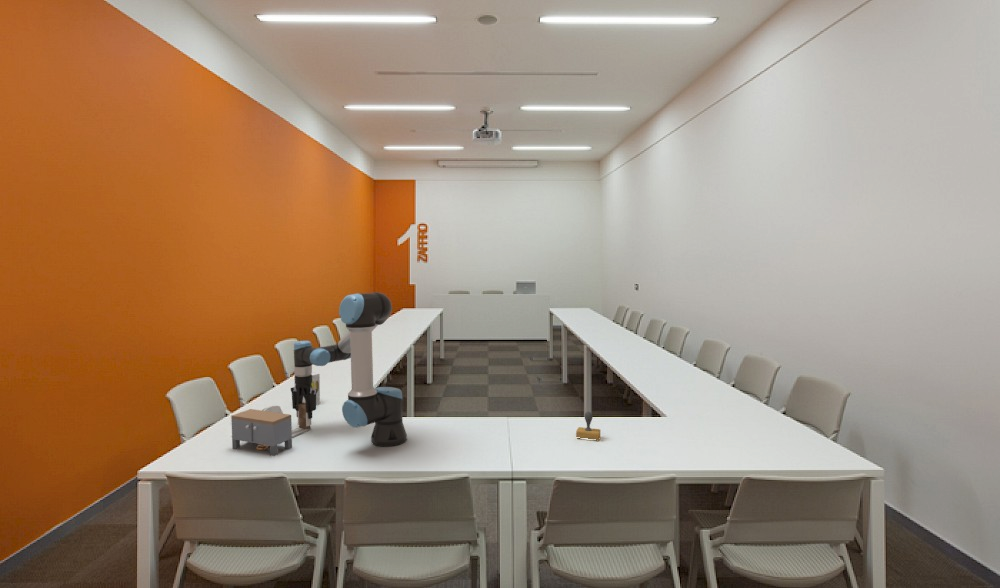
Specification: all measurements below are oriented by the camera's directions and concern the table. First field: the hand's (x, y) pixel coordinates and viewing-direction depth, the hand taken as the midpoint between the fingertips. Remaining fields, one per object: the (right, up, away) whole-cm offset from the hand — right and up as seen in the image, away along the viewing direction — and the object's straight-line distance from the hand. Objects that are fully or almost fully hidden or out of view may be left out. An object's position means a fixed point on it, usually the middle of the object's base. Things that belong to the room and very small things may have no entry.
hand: (304, 424), depth 242 cm
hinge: (-18, -2, +5) cm, 18 cm away
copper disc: (-9, -4, -23) cm, 25 cm away
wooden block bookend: (-3, -3, -8) cm, 9 cm away
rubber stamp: (+129, -4, -10) cm, 129 cm away
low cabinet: (-9, -4, -23) cm, 25 cm away
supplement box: (-13, +1, +39) cm, 41 cm away
